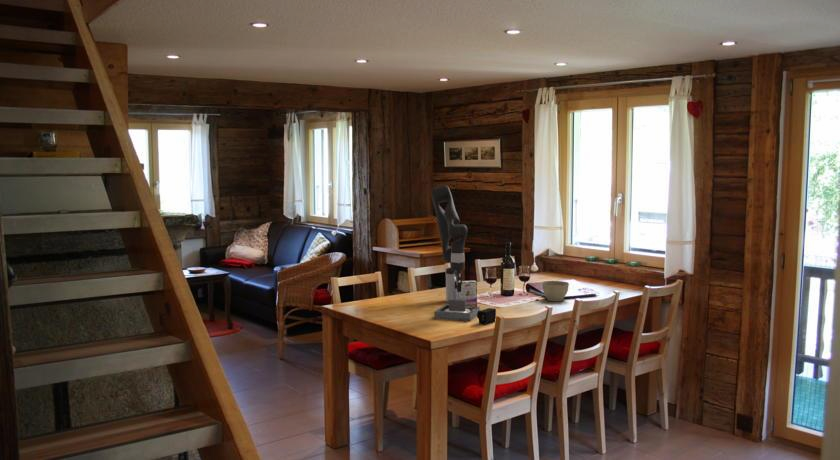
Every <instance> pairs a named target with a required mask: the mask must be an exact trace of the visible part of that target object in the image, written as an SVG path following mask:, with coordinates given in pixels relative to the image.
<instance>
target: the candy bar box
mask: <svg viewBox="0 0 840 460" xmlns="http://www.w3.org/2000/svg"><path fill="white" fill-rule="evenodd" d="M459 282H460V281H459ZM477 282H478V281H476V280H462V285H461V292H457V300H466V306H477V307H478V283H477Z"/></svg>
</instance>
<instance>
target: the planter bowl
mask: <svg viewBox="0 0 840 460" xmlns="http://www.w3.org/2000/svg"><path fill="white" fill-rule="evenodd" d="M569 286H570V283H569V282H567V281H562V280H545V281H542V282H541V287H542V291H543V294H544V295H545V298H546V300H547V301H550V302H562V301H563V300H564V298H566V295H567V293H568V291H569Z"/></svg>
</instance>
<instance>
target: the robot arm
mask: <svg viewBox="0 0 840 460" xmlns="http://www.w3.org/2000/svg"><path fill="white" fill-rule="evenodd" d="M430 197H431V200H432V204H433V208H434V211H435V215H436V216H435V217H436V222H437V228H438V233H439V236H440V241H441V249H442V257H443V260H444V261H445V262H446V263H450V267H448V268H446V269H445V302H446V303H449V299H457V292H461V285H462V281H463V273H462V271H464V270H465V269H466V267H465V265H466V263H465V262H466V260H465V259H466V257H465V256H466V255H465V244H466V238H467V235H468V227H467V225H466V224H463V223H462V224H460V223H461V220H460V218H459V215H458V212H457V210H456V206H455V203H454V199H453V195H452V192H451V190H450V187H449V186H448V185H447V184H444V185H440V186H436V187H433V188H431V189H430ZM445 202H447V203H446V206H445V209H443V207H441V205H440V204H441V203H445ZM451 238H453V239H454V238H458V240H456V241H452V242H451V246H450V245H449V244H450V243H449V242H450V239H451ZM459 281H460V282H459Z"/></svg>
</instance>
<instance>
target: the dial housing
mask: <svg viewBox="0 0 840 460" xmlns="http://www.w3.org/2000/svg"><path fill="white" fill-rule="evenodd" d="M480 308H481V307H480V306H478V305H477V306H466V309H469V310H470V312H469V313H458V312H445V310H446V309H449V304H446V303H445V304H444V305H443V306H441V307H439V308H438V309H436V310H435V311H433V316H434V317H433V318H434V319H435V320H445V321H448V320H449V321H458V322H459V321H460V322H472V320H474V319H475V318H476V317H477V313H478V311H479V310H481V309H480Z"/></svg>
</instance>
